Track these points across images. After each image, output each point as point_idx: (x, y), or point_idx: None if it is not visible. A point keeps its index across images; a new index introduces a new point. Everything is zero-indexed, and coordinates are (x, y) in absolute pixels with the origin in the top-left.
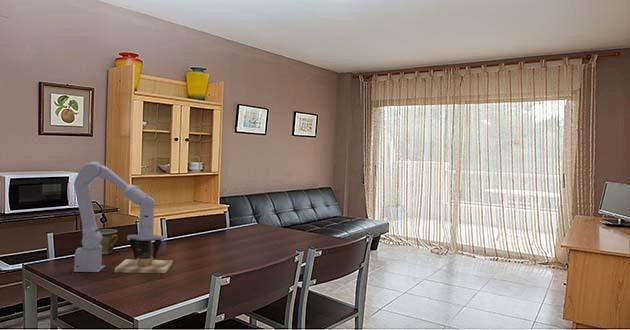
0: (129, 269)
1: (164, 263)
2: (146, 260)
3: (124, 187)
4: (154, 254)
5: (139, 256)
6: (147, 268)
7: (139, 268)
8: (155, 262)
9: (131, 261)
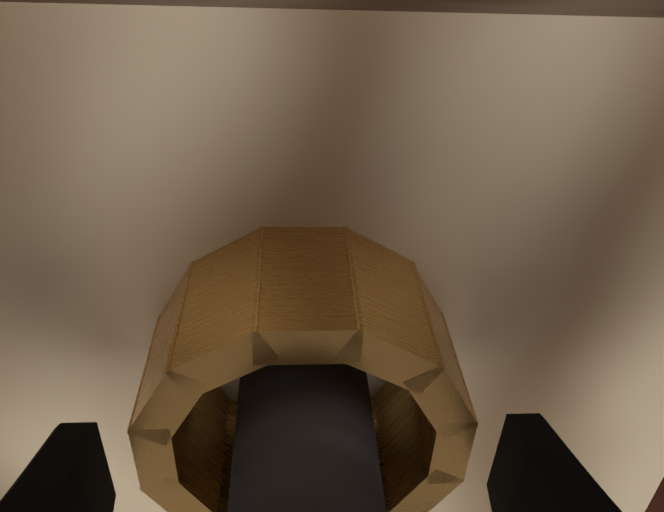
0: (565, 12)
1: None
2: (231, 318)
3: None
4: (24, 498)
5: (442, 487)
6: (143, 55)
7: (338, 50)
8: None
9: None
